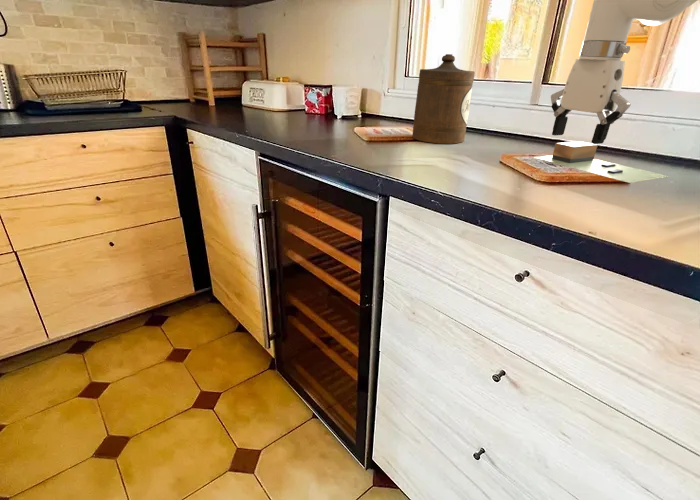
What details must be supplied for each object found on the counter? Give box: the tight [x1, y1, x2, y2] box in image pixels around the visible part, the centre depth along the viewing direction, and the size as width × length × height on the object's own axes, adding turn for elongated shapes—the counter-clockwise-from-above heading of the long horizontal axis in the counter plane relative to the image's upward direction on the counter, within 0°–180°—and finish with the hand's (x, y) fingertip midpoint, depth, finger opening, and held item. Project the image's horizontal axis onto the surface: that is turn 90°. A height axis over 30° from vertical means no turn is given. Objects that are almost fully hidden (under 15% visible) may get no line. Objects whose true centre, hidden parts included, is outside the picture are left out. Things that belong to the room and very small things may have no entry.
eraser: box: [552, 140, 598, 163], centre depth 88 cm, size 4×8×4 cm, turn 116°
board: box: [532, 154, 670, 184], centre depth 84 cm, size 22×13×1 cm, turn 26°
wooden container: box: [411, 53, 476, 145], centre depth 110 cm, size 15×15×22 cm
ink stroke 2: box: [608, 169, 623, 174], centre depth 79 cm, size 1×3×1 cm, turn 116°
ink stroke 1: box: [601, 162, 617, 167], centre depth 84 cm, size 1×3×1 cm, turn 117°
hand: (576, 139), depth 87 cm, fingers open, 9 cm apart
